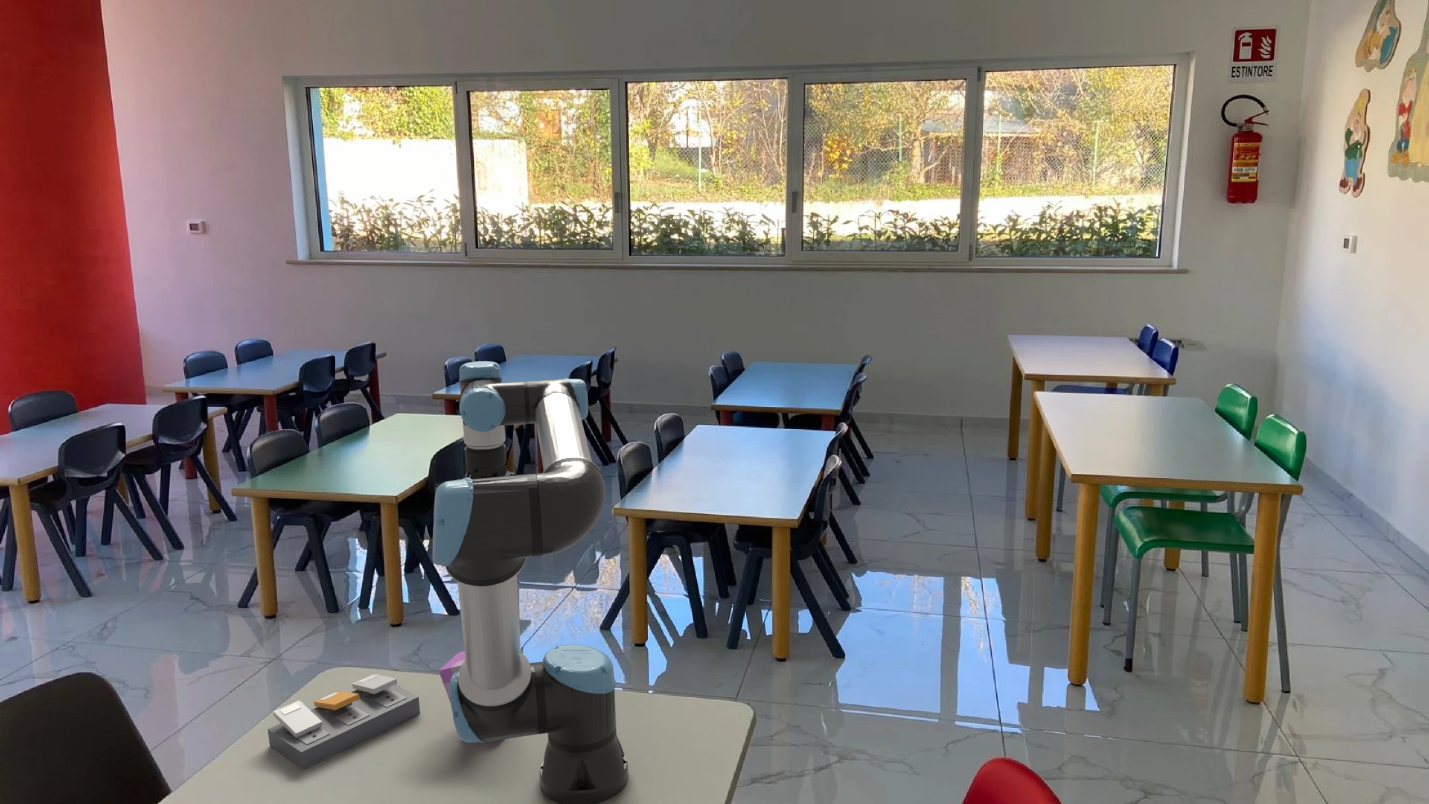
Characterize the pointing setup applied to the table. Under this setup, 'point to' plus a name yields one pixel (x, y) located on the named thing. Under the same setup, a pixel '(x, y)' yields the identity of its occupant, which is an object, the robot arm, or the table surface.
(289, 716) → the rocker
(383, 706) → the power strip
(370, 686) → the rocker
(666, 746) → the table surface
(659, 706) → the table surface
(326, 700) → the plate
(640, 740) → the table surface
